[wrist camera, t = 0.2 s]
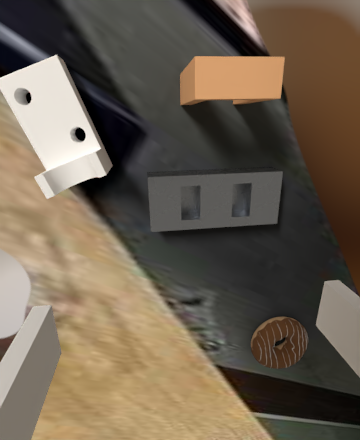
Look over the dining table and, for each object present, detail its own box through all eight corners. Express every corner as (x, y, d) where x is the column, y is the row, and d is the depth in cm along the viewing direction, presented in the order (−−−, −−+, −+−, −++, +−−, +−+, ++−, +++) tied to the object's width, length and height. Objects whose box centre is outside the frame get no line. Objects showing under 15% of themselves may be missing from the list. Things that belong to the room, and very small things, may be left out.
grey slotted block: (147, 172, 38) (147, 177, 34) (271, 167, 40) (283, 171, 36) (150, 222, 40) (150, 231, 37) (266, 215, 42) (277, 223, 39)
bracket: (113, 164, 37) (106, 174, 30) (65, 183, 37) (46, 198, 30) (65, 61, 32) (43, 45, 25) (10, 84, 32) (-27, 73, 25)
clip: (180, 74, 34) (195, 56, 24) (244, 74, 35) (284, 56, 25) (180, 105, 35) (195, 99, 25) (243, 104, 36) (280, 98, 26)
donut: (237, 350, 51) (245, 368, 48) (263, 305, 49) (273, 321, 45) (284, 361, 54) (294, 379, 50) (311, 319, 51) (324, 335, 47)
